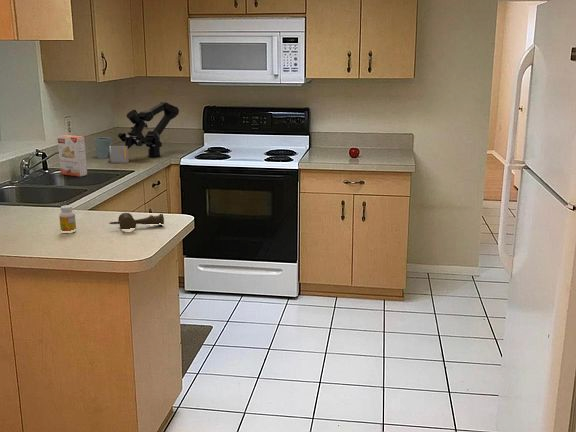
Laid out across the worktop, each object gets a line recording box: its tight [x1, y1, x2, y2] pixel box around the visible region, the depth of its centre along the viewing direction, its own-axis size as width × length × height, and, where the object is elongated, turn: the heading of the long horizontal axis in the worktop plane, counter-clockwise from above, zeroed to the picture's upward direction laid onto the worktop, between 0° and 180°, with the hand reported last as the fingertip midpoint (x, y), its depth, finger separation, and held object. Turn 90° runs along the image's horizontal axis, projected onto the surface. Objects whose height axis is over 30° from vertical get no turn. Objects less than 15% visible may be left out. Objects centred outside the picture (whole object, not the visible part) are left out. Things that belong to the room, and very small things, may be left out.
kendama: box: [108, 212, 165, 230], centre depth 236 cm, size 6×10×20 cm
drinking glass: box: [93, 136, 112, 160], centre depth 391 cm, size 10×10×12 cm
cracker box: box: [57, 134, 88, 178], centre depth 335 cm, size 14×6×21 cm, turn 62°
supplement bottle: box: [58, 204, 77, 231], centre depth 230 cm, size 5×5×10 cm
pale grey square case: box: [110, 145, 129, 164], centre depth 372 cm, size 10×2×10 cm, turn 91°
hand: (125, 149), depth 374 cm, fingers closed
